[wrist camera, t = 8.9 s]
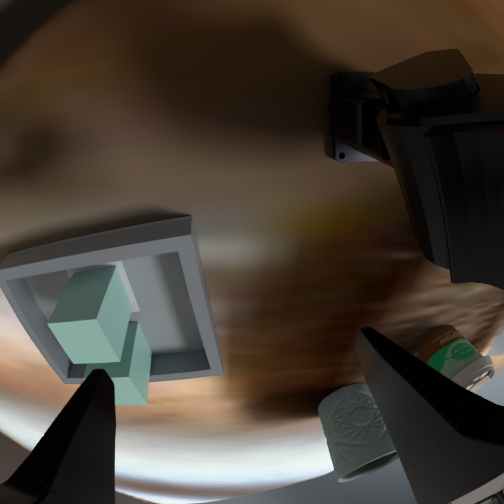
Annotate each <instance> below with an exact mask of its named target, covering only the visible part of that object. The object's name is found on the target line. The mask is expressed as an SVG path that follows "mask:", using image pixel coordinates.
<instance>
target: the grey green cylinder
mask: <svg viewBox="0 0 504 504" xmlns="http://www.w3.org/2000/svg"><path fill="white" fill-rule="evenodd" d="M318 413H319V417H320V420H321V423H322V426H323V430H324V434H325V437H326V438H327V445H328V449H329V452H330V456H331V459H332V463H333V466H334V471H335V475H336V479H337V481H338V482H345V481H350V480H353V479H356V478H360V477H362V476H365V475H368V474H370V473H372V472H375V471H377V470H379V469H381V468H383V467H385V466H387V465H389V464H390V463H392V462H394V461H395V460H397V459H398V458H399V456H398V454H397V451H396V449H395V446H394V444H393V442H392V439H391V437H390V435H389V432H388V430H387V428H386V426H385V423H384V421H383V419H382V417H381V414H380V412H379V410H378V408H377V405H376V403H375V401H374V399H373V397H372V394H371V392H370V390H369V388H368V385H367V384H366V383H357V384H352V385H348V386H345V387H343V388H340V389H338V390H336V391H334V392H333V393H331V394H329V395H328V396H327V397H325V398H324V399H323V400H322V401H321V403H320V404H319V406H318Z"/></svg>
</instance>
